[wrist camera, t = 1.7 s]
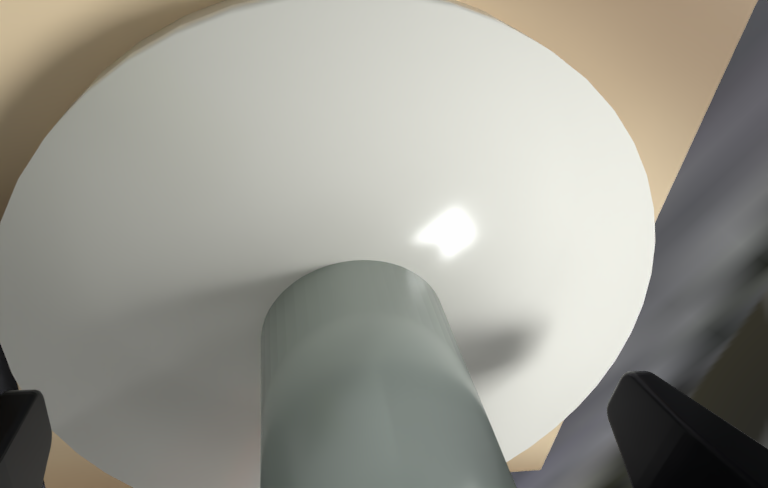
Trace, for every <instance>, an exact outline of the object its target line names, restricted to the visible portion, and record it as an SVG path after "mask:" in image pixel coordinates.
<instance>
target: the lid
mask: <svg viewBox="0 0 768 488" xmlns="http://www.w3.org/2000/svg"><path fill="white" fill-rule="evenodd" d="M654 247H655V224H654V207H653V202H652V197H651V192H650V187H649V182H648V178H647V174H646V172H645V169H644V167H643V164H642V161H641V159H640V156H639V154H638V151H637V149H636V146H635V144H634V142H633V140H632V138H631V137H630V135H629V133H628V132H627V130H626V129H625V127H624V125H623V124H622V122H621V120H620V119H619V117H618V115H617V114H616V112H615V111H614V109H613V108H612V107H611V106H610V105H609V104H608V102H607V101H606V100H605V99H604V98H603V97H602V96H601V95H600V93H599V92H598V91H597V90H596V89H595V88H594V87H593V86H592V84H591V83H590V82H589V81H588V80H587V79H586V78H585V77H583V76H582V75H581V74H580V73H578V72H577V71H576V70H575V69H573V68H572V67H571V66H570V65H568V64H567V63H566V62H565V61H563V60H562V59H561V58H560V57H558V56H557V55H556V54H555V53H553V52H552V51H551V50H549V49H547V48H546V47H544V46H543V45H541V44H539V43H538V42H536V41H535V40H533V39H532V38H530V37H528V36H527V35H525V34H524V33H522V32H520V31H519V30H517V29H515V28H513V27H512V26H510V25H508V24H506V23H505V22H503V21H501V20H499V19H497V18H496V17H494V16H492V15H490V14H488V13H487V12H485V11H483V10H481V9H479V8H476V7H473V6H471V5H468V4H465V3H463V2H460V1H457V0H224V1H221V2H219V3H216V4H214V5H211V6H209V7H206V8H203V9H201V10H198V11H196V12H193V13H190V14H188V15H185V16H184V17H182V18H180V19H178V20H177V21H175V22H173V23H171V24H170V25H168V26H166V27H164V28H162V29H161V30H159V31H157V32H155V33H154V34H152V35H150V36H148V37H147V38H145V39H143V40H141V41H140V42H139V43H137V44H136V45H135V46H134V47H132V48H131V49H130V50H129V51H127V52H126V53H125V54H124V55H122V56H121V57H120V58H119V59H117V60H116V61H115V62H113V63H112V64H111V65H110V66H108V67H107V68H106V69H105V70H103V71H102V72H101V73H100V74H99V75H98V76H97V78H96V79H95V80H94V81H93V82H92V83H91V84H90V85H89V86H88V87H87V89H86V90H85V91H84V92H83V93H82V94H81V95H80V96H79V97H78V98H77V99H76V101H75V102H74V103H73V104H72V105H71V106H70V107H69V108H68V110H67V111H66V112H65V113H64V115H63V116H62V117H61V118H60V120H59V121H58V122H57V123H56V125H55V126H54V127H53V128H52V130H51V131H50V132H49V133H48V134H47V136H46V137H45V138H44V140H43V141H42V143H41V144H40V146H39V147H38V149H37V151H36V152H35V154H34V155H33V157H32V158H31V160H30V161H29V163H28V165H27V166H26V168H25V169H24V171H23V172H22V174H21V175H20V177H19V179H18V180H17V183H16V185H15V188H14V190H13V193H12V195H11V198H10V200H9V202H8V205H7V207H6V210H5V212H4V215H3V217H2V220H1V222H0V344H1V347H2V349H3V352H4V354H5V357H6V360H7V362H8V365H9V368H10V370H11V373H12V375H13V376H14V378H15V380H16V381H17V383H18V385H19V386H20V388H21V390H39V391H40V392H41V393H42V394H43V396H44V400H45V404H46V408H47V412H48V416H49V420H50V425H51V429H52V431H53V432H54V433H55V434H56V435H58V436H59V437H60V438H61V439H62V440H63V441H64V442H65V443H66V444H68V445H69V446H70V447H71V448H72V449H73V450H74V451H75V452H76V453H78V454H79V455H80V456H82V457H83V458H85V459H86V460H88V461H89V462H90V463H92V464H93V465H95V466H96V467H98V468H99V469H101V470H102V471H103V472H105V473H107V474H109V475H110V476H112V477H114V478H116V479H118V480H120V481H122V482H124V483H125V484H127V485H129V486H131V487H133V488H517V487H516V485H515V482H514V480H513V477H512V475H511V473H510V470H509V468H508V465H507V463H506V462H508V461H509V460H511V459H512V458H514V457H516V456H517V455H519V454H520V453H522V452H523V451H525V450H526V449H528V448H530V447H531V446H532V445H534V444H535V443H536V442H537V441H539V440H540V439H541V438H543V437H544V436H545V435H547V434H548V433H549V432H550V431H552V430H553V429H554V428H555V427H557V426H558V425H559V424H560V423H561V422H562V421H563V420H564V419H565V418H566V417H567V416H568V415H570V414H571V413H572V412H573V411H574V410H575V409H576V408H577V407H578V406H579V405H580V404H581V403H582V402H583V400H584V399H585V398H586V397H587V396H588V395H589V394H590V393H591V391H592V390H593V389H594V388H595V387H596V386H597V385H598V383H599V382H600V381H601V379H602V378H603V377H604V375H605V374H606V372H607V371H608V370H609V368H610V367H611V366H612V364H613V363H614V361H615V360H616V358H617V357H618V355H619V353H620V351H621V350H622V348H623V346H624V344H625V343H626V341H627V339H628V337H629V336H630V334H631V332H632V330H633V327H634V325H635V322H636V320H637V318H638V315H639V313H640V310H641V308H642V306H643V303H644V299H645V295H646V292H647V288H648V284H649V281H650V277H651V272H652V264H653V256H654Z"/></svg>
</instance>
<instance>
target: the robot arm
mask: <svg viewBox="0 0 768 488" xmlns="http://www.w3.org/2000/svg"><path fill="white" fill-rule="evenodd" d="M607 415H608V419H609V422H610V425H611V428H612V430H613V433H614V436H615V439H616V442H617V444H618V447H619V450H620V453H621V455H622V458H623V461H624V464H625V467H626V469H627V472H628V475H629V478H630V480H631V483H632V486H633V488H768V449H767V448H765V447H764V446H763V445H761V444H759V443H758V442H756V441H755V440H753V439H752V438H750V437H749V436H747V435H746V434H744V433H743V432H741V431H740V430H738V429H737V428H735V427H734V426H732V425H731V424H729V423H728V422H726V421H724V420H723V419H721V418H720V417H718V416H717V415H715V414H714V413H712V412H711V411H709V410H708V409H706V408H705V407H703V406H702V405H700V404H699V403H697V402H695V401H694V400H693V399H691V398H689V397H688V396H686V395H685V394H683V393H682V392H680V391H679V390H677V389H676V388H674V387H673V386H671V385H670V384H668V383H667V382H665V381H664V380H662V379H661V378H659V377H658V376H656V375H655V374H653V373H651V372H647V371H632V372H626V373H625V374H624V375H623V376H622V377H621V379H620V381H619V383H618V385H617V387H616V389H615V391H614V393H613V395H612V397H611V398H610V400H609V403H608V406H607ZM51 442H52V429H51V425H50V420H49V416H48V412H47V408H46V404H45V400H44V396H43V394H42V393H41V392H40V391H39V390H10V391H6V392H4V393H3V394H1V395H0V488H42V483H43V479H44V475H45V470H46V466H47V461H48V457H49V453H50V448H51Z"/></svg>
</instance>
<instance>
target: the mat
mask: <svg viewBox="0 0 768 488" xmlns="http://www.w3.org/2000/svg"><path fill="white" fill-rule="evenodd" d="M221 1H224V0H0V222H1V220H2V217H3V215H4V212H5V210H6V207H7V205H8V202H9V200H10V198H11V195H12V193H13V190H14V188H15V185H16V183H17V180H18V179H19V177H20V175H21V174H22V172H23V171H24V169H25V168H26V166H27V165H28V163H29V161H30V160H31V158H32V157H33V155H34V154H35V152H36V151H37V149H38V147H39V146H40V144H41V143H42V141H43V140H44V138H45V137H46V136H47V134H48V133H49V132H50V131H51V130H52V128H53V127H54V126H55V125H56V123H57V122H58V121H59V120H60V118H61V117H62V116H63V115H64V113H65V112H66V111H67V110H68V108H69V107H70V106H71V105H72V104H73V103H74V102H75V101H76V99H77V98H78V97H79V96H80V95H81V94H82V93H83V92H84V91H85V90H86V89H87V87H88V86H89V85H90V84H91V83H92V82H93V81H94V80H95V79H96V78H97V76H98V75H99V74H100V73H101V72H102V71H103V70H105V69H106V68H107V67H108V66H110V65H111V64H112V63H113V62H115V61H116V60H117V59H119V58H120V57H121V56H122V55H124V54H125V53H126V52H127V51H129V50H130V49H131V48H132V47H134V46H135V45H136V44H137V43H139V42H140V41H141V40H143V39H145V38H147V37H148V36H150V35H152V34H154V33H155V32H157V31H159V30H161V29H162V28H164V27H166V26H168V25H170V24H171V23H173V22H175V21H177V20H178V19H180V18H182V17H184V16H185V15H188V14H190V13H193V12H196V11H198V10H201V9H203V8H206V7H209V6H211V5H214V4H216V3H219V2H221ZM457 1H460V2H463V3H465V4H468V5H471V6H473V7H476V8H479V9H481V10H483V11H485V12H487V13H488V14H490V15H492V16H494V17H496V18H497V19H499V20H501V21H503V22H505V23H506V24H508V25H510V26H512V27H513V28H515V29H517V30H519V31H520V32H522V33H524V34H525V35H527V36H528V37H530V38H532V39H533V40H535V41H536V42H538V43H539V44H541V45H543V46H544V47H546V48H547V49H549V50H551V51H552V52H553V53H555V54H556V55H557V56H558V57H560V58H561V59H562V60H563V61H565V62H566V63H567V64H568V65H570V66H571V67H572V68H573V69H575V70H576V71H577V72H578V73H580V74H581V75H582V76H583V77H585V78H586V79H587V80H588V81H589V82H590V83H591V84H592V86H593V87H594V88H595V89H596V90H597V91H598V92H599V93H600V95H601V96H602V97H603V98H604V99H605V100H606V101H607V102H608V104H609V105H610V106H611V107H612V108H613V109H614V111H615V112H616V114H617V115H618V117H619V119H620V120H621V122H622V124H623V125H624V127H625V129H626V130H627V132H628V133H629V135H630V137H631V138H632V140H633V142H634V144H635V146H636V149H637V151H638V154H639V156H640V159H641V161H642V164H643V167H644V169H645V172H646V174H647V178H648V182H649V187H650V192H651V197H652V202H653V207H654V223H655V221H656V219H657V217H658V215H659V213H660V210H661V208H662V206H663V204H664V202H665V200H666V197H667V195H668V193H669V191H670V189H671V187H672V184H673V182H674V180H675V178H676V176H677V174H678V172H679V169H680V167H681V165H682V163H683V161H684V159H685V156H686V154H687V152H688V150H689V148H690V146H691V143H692V141H693V139H694V137H695V135H696V133H697V130H698V128H699V126H700V124H701V122H702V120H703V117H704V115H705V113H706V111H707V109H708V107H709V104H710V102H711V100H712V98H713V96H714V94H715V91H716V89H717V87H718V85H719V83H720V81H721V78H722V76H723V74H724V72H725V70H726V68H727V65H728V63H729V61H730V59H731V57H732V55H733V52H734V50H735V48H736V46H737V44H738V42H739V40H740V37H741V35H742V33H743V31H744V29H745V27H746V24H747V22H748V20H749V18H750V16H751V14H752V11H753V9H754V7H755V5H756V3H757V1H758V0H457ZM17 385H18V383H17ZM18 389H19V390H21V388H20V386H19V385H18ZM562 422H563V421H562ZM562 422H561V423H560V424H559V425H558V426H557V427H555V428H554V429H553V430H552V431H550V432H549V433H548V434H547V435H545V436H544V437H543V438H541V439H540V440H539V441H537V442H536V443H535V444H534V445H532V446H531V447H530V448H528V449H526V450H525V451H523V452H522V453H520V454H519V455H517V456H516V457H514V458H512V459H511V460H509V461H508V462H506V463H507V465H508V468H509V470H510V472H517V471H531V470H541V468H542V466H543V464H544V461H545V459H546V457H547V455H548V453H549V451H550V448H551V446H552V444H553V442H554V440H555V438H556V435H557V433H558V431H559V429H560V427H561V425H562ZM44 483H45V487H46V488H133V487H131V486H129V485H127V484H125V483H124V482H122V481H120V480H118V479H116V478H114V477H112V476H110V475H109V474H107V473H105V472H103V471H102V470H101V469H99V468H98V467H96V466H95V465H93V464H92V463H90V462H89V461H88V460H86V459H85V458H83V457H82V456H80V455H79V454H78V453H76V452H75V451H74V450H73V449H72V448H71V447H70V446H69V445H68V444H66V443H65V442H64V441H63V440H62V439H61V438H60V437H59V436H58V435H56V434H55V433H54V432H53V431H52V442H51V448H50V453H49V457H48V461H47V466H46V470H45V475H44Z"/></svg>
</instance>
